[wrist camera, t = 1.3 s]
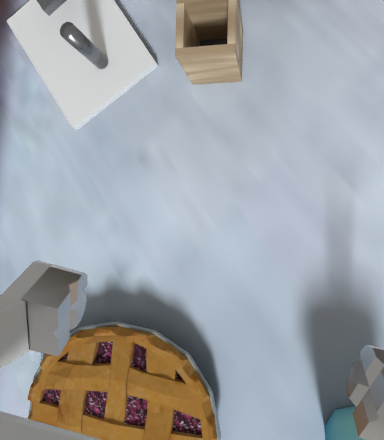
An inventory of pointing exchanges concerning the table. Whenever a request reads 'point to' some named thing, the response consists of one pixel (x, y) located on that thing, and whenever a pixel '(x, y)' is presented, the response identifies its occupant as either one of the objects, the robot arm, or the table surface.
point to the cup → (341, 425)
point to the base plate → (78, 64)
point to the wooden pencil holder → (209, 30)
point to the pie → (124, 387)
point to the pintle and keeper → (76, 36)
